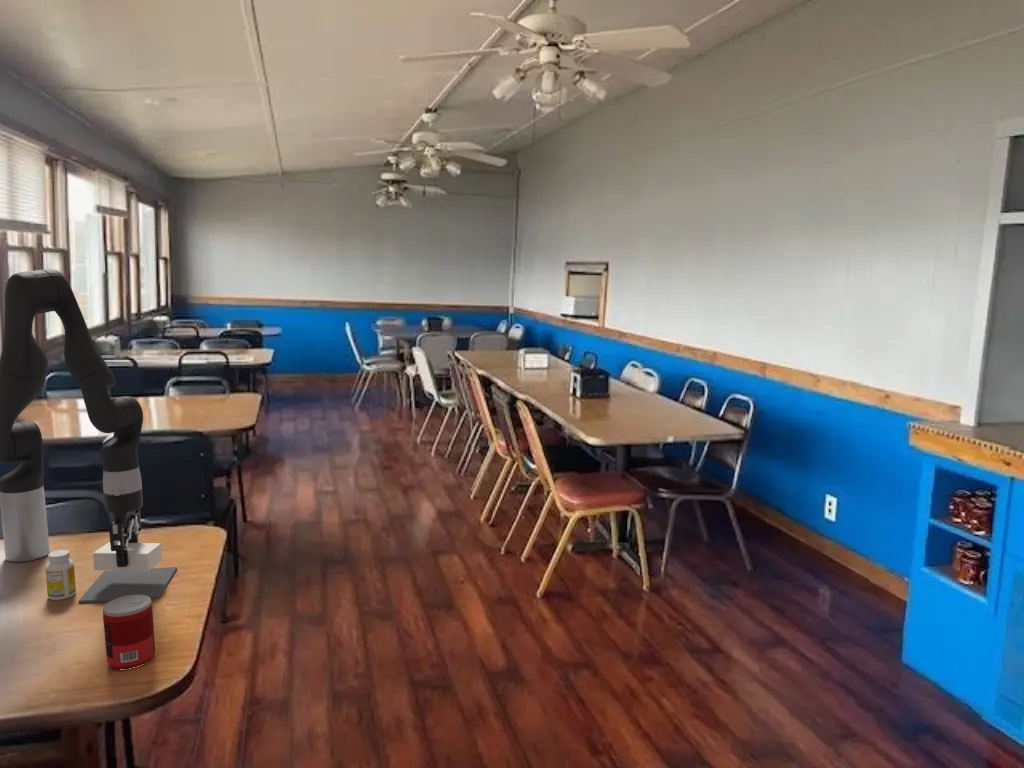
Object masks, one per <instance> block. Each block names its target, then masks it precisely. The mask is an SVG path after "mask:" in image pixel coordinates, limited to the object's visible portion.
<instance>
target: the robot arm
mask: <svg viewBox="0 0 1024 768" xmlns="http://www.w3.org/2000/svg"><path fill="white" fill-rule="evenodd" d="M50 312H52V313H53V312H55V313H56V314H57V316H58V318H59V319H60V321H61V323H62V326H63V328H64V329H63V330H64V345H63V347H64V349H63V356H64V362H65V365H66V368H67V370H68V372H69V374H70V375H71V377H72V378H73V380H74V381H75V383H76V384H77V386H78V387H79V389H80V392H81V394H82V399H83V402H84V405H85V406H84V407H85V410H86V414H87V416H88V419H89V421H90V423H91V425H92V426H93V427H94V428H95V429H97V430H98V431H99V432H101V433H104V434H112V433H113V436H112V438H111V439H110V440H109V441H108V442H106V443H105V444H103V446H102V448H101V459H102V470H103V471H102V489H103V501H104V503H103V504H104V510H105V512H107V513H109V514H113V515H114V519H113V520H112V524H109V525H108V533H109V542H110V545H111V551H116V561H117V567H127V566H128V564H129V562H128V543H139V538H138V537H139V536H140V532H141V531H142V520H141V508H142V507H144V504H143V503H144V501H143V500H144V499H143V487H142V486H143V483H142V474H141V471H140V463H139V460H140V459H139V452H138V448H139V443H140V440H141V434H142V429H143V424H144V423H143V422H144V411H143V408H142V406H141V404H140V402H139V401H138V400H137V399H136V398H135V397H133V396H128V395H127V396H126V395H125V396H120V397H115V398H111V396H110V395H109V391H110V390H111V389H112V388H113V387H114V386H115V384H116V378H115V376H114V374H113V372H112V370H111V369H110V367H109V366H108V364H107V362H106V361H105V359H104V357H103V356H102V355H101V353H100V351H99V350H98V347H97V346H96V344H95V342H94V340H93V337H92V336H91V333H90V330H89V328H88V326H87V325H88V324H87V323H86V321H85V318H84V316H83V315H84V314H83V313H82V310H81V308H80V305H79V303H78V301H77V298H76V297H75V294H74V290H73V289H72V287H71V284H70V283H69V281H68V280H67V277H65V276H64V275H63V273H62V272H61V271H59V270H58V269H54V268H44V269H35V270H29V271H20V272H18V273H17V272H16V273H14V274H12V275H10V277H9V278H8V280H7V282H6V286H5V290H4V328H3V340H2V348H1V355H0V465H1V464H10V463H15V462H20V463H19V465H18V466H17V467H16V468H14V469H13V470H12V471H9V472H8V473H6V474H4V475H2V476H1V477H0V517H1V526H2V535H3V545H4V548H3V549H4V555H5V561H8V562H12V563H21V562H22V563H23V562H29V561H34V560H35V561H36V560H38V559H41V558H43V557H46V556H47V555H48V554H49V553H51V552H50V550H51V549H50V541H49V530H48V529H49V528H48V520H47V518H48V516H47V508H46V507H47V506H46V498H45V488H44V474H45V472H44V451H43V450H44V449H43V447H44V446H43V445H44V444H43V434H42V431H41V428H40V427H39V425H38V424H37V423H36V422H35V421H32V420H27V421H26V420H24V421H19V422H18V421H17V422H16V420H17V418H18V417H19V415H20V414H21V413H22V412H23V411H24V410H25V409H26V408H27V407H28V406H29V405H30V404H32V403H33V401H34V400H35V399H36V398H37V397H38V396H39V395H40V393H41V392H42V391H43V388H44V387H45V383H46V379H47V372H48V367H49V366H48V364H49V361H48V357H47V355H46V354H47V353H46V352H45V351H44V349H43V348H42V347H41V344H39V342H38V341H37V339H36V338H35V336H34V335H33V322H34V319H35V317H36V316H37V315H39V314H46V313H50ZM118 543H120V545H118Z"/></svg>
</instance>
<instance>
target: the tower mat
mask: <svg viewBox="0 0 1024 768" xmlns="http://www.w3.org/2000/svg"><path fill="white" fill-rule="evenodd" d="M177 569H178V567H177V566H171V567H153V568H152V569H151V570H150V571H103V572H102V573H101V574H100V575H99V576H98V578H97V579H95V581H94V582H93V584H91V586H90V587H88V589H87V591H85V593H84V594H83V595H82V596H81V597H80V599H78V604H90V603H91V604H92V603H108V602H110V601H112V600H114V599H117V598H120V597H124V596H129V595H145V596H148V597H150V598H153V599H160V598H161V596H162V594H163V592H164V591H165V589H166V587H167V586H168V584H169V583H170V582H171V580H172V578H173V577H174V575H175V573H176V572H177Z"/></svg>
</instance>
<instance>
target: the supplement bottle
mask: <svg viewBox="0 0 1024 768" xmlns="http://www.w3.org/2000/svg"><path fill="white" fill-rule="evenodd" d="M70 553H71V552H70V551H69V550H68V549H67V550H66V549H59V550H54V551H51V552H49V553H48V554H47V555H48V556H47V557H48V559H47V560H48V563H46V565H45V568H44V569H45V580H46V592H47V598H48V599H49V600H52V601H60V600H62V601H63V600H66V599H69V598H71V597H73V596H74V595H75V594H76V592H77V589H76V587H77V586H76V577H75V575H76V574H75V562H74V561H73V560H72V559H70V557H71V555H70Z"/></svg>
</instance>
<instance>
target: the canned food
mask: <svg viewBox="0 0 1024 768" xmlns="http://www.w3.org/2000/svg"><path fill="white" fill-rule="evenodd" d="M153 611H154V610H153V602H152V599H151V598H150V597H148V596H145V595H129V596H124V597H120V598H117V599H114V600H112V601H108V602H106V604H105V605H103V608H102V620H103V630H104V631H103V632H104V643H105V653H106V654H105V655H106V656H105V657H106V663H107V665H108V667H109V668H110V669H111V668H113V669H112V670H114V669H117V670H116V671H121V670H120V669H129V668H133V667H137V666H140V665H142V664H145V663H146V662H148V661H150V660H151V659H152V658H153V659H154V657H155V654H156V646H155V630H154V629H155V628H154V615H153V614H154V613H153ZM153 659H152V660H153ZM152 660H151V661H152ZM151 661H150V662H151ZM148 663H149V662H148ZM145 665H146V664H145Z"/></svg>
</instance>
